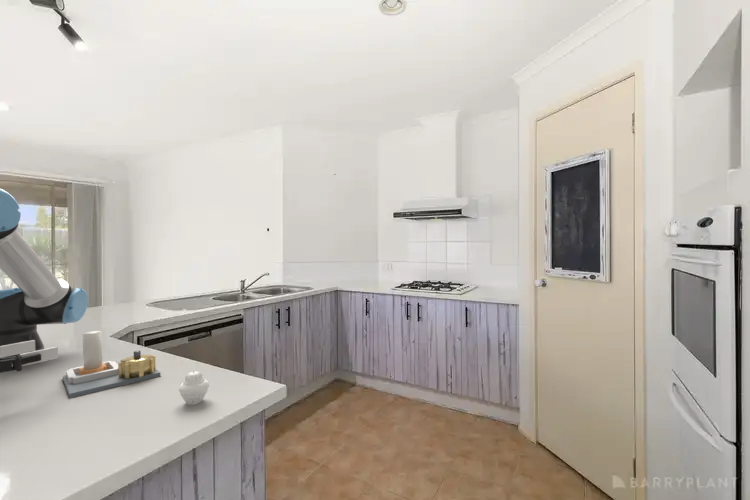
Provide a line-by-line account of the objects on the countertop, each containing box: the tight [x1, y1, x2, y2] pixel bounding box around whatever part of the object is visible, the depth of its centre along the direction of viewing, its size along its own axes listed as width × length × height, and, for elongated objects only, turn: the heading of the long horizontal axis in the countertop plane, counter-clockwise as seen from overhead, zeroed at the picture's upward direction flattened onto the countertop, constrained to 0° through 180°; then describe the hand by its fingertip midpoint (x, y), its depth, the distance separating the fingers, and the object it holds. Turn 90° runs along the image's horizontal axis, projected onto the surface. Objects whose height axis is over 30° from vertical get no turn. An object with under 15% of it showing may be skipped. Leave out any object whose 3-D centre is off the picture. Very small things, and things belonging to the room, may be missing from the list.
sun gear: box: [117, 350, 157, 379], centre depth 97 cm, size 8×8×6 cm
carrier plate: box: [62, 360, 161, 399], centre depth 97 cm, size 18×19×2 cm
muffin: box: [178, 371, 210, 406], centre depth 80 cm, size 6×6×7 cm
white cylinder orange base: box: [79, 330, 107, 376], centre depth 97 cm, size 6×6×12 cm
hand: (45, 348), depth 88 cm, fingers open, 13 cm apart
